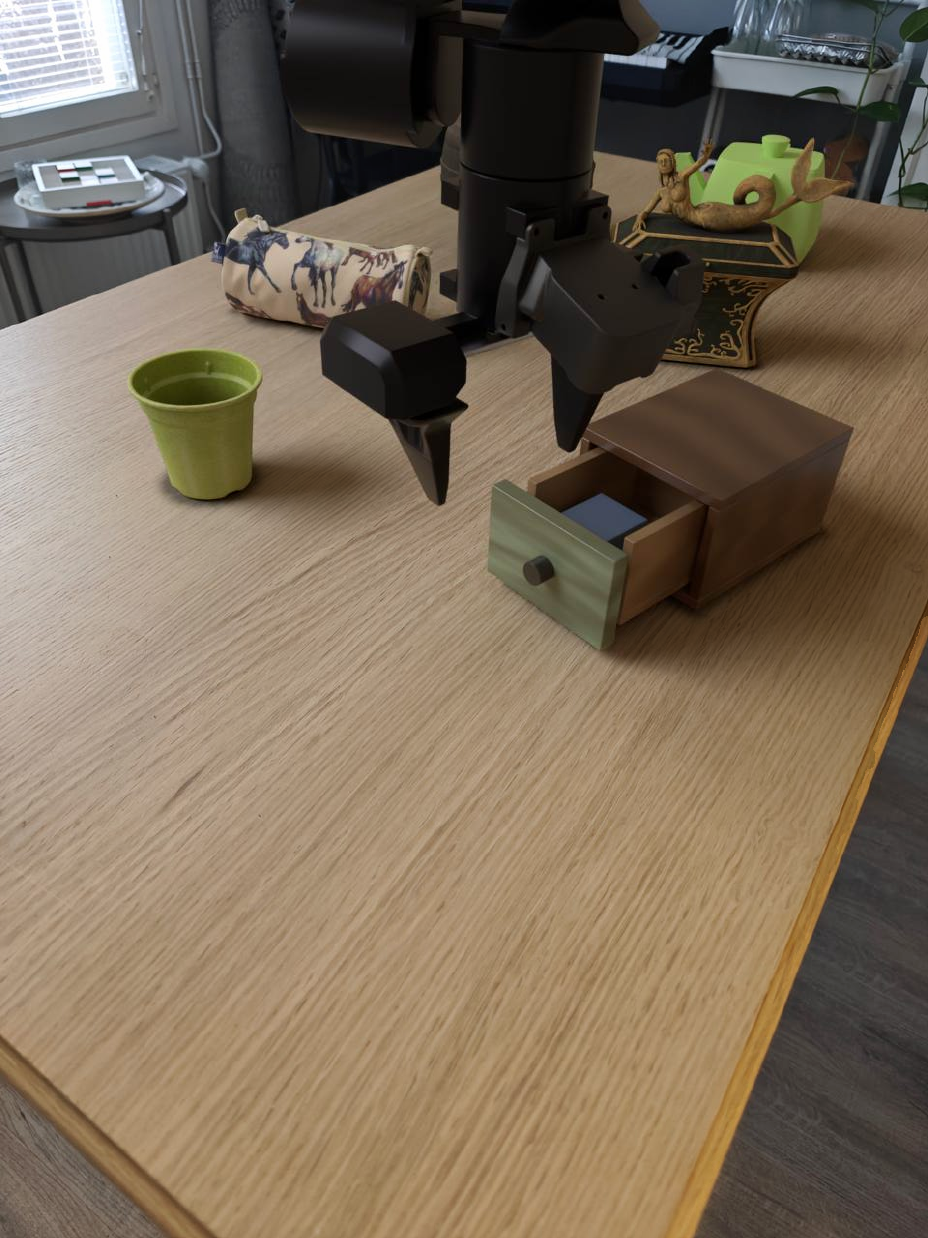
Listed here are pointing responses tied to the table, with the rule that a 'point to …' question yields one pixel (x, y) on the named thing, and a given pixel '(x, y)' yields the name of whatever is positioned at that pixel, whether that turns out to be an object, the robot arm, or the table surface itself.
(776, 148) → the teapot
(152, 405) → the plant pot
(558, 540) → the drawer
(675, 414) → the cabinet
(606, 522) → the block
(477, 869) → the table surface
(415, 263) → the pencil case
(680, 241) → the decorative box
